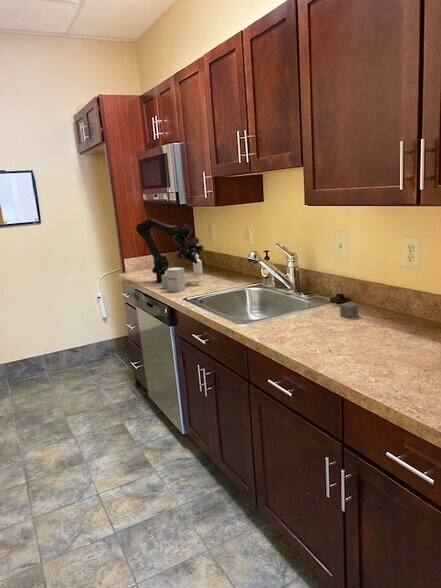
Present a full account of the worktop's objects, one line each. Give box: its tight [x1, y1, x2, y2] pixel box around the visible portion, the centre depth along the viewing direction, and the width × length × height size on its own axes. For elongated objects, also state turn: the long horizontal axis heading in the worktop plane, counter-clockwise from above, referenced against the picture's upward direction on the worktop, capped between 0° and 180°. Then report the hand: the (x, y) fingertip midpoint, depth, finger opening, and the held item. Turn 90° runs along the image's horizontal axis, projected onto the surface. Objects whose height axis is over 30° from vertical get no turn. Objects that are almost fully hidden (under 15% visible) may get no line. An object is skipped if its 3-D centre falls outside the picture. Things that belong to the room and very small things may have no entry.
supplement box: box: [166, 267, 187, 293], centre depth 255 cm, size 7×7×13 cm
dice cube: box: [339, 301, 359, 319], centre depth 184 cm, size 5×5×5 cm
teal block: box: [161, 273, 168, 290], centre depth 264 cm, size 5×5×8 cm
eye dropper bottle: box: [192, 253, 203, 275], centre depth 265 cm, size 4×6×12 cm
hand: (199, 262), depth 264 cm, fingers closed on eye dropper bottle, 3 cm apart
